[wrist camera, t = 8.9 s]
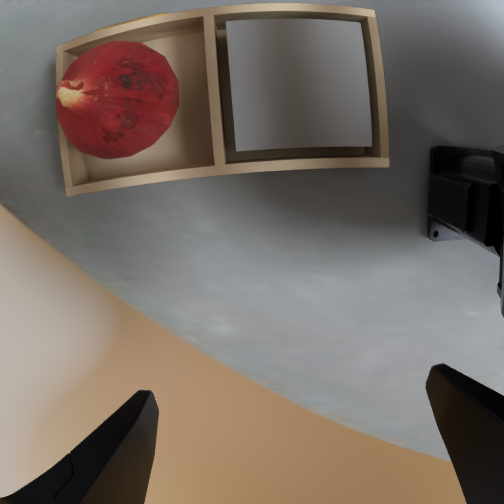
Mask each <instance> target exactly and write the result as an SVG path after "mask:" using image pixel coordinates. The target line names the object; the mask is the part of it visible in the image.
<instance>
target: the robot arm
mask: <svg viewBox="0 0 504 504" xmlns="http://www.w3.org/2000/svg"><path fill="white" fill-rule="evenodd" d="M437 150H438V151H439V155H438V156H437V154H436V152H437ZM428 214H429V217H428V230H427V236H428V238H429V239H431V240H432V241H444V240H455V239H469V240H471V241H472V242H474V243H476V244H478V245H480V246H481V247H483V248H485V249H486V250H488V251H490V252H492V253H493V254H495V255H497V256H498V257H500V275H499V283H498V286H497V293H498V294H499V296H500V298H501V312H502V315H503V317H504V145H502V146H498V147H495V148H491V151H488V150H480V149H471V148H461V147H450V146H437V145H436V146H433V147H432V148H431V151H430V177H429V199H428ZM434 231H436V234H435V235H434V236H433V233H434ZM426 391H427V395H428V398H429V401H430V404H431V407H432V411H433V414H434V417H435V421H436V424H437V426H438V429H439V431H440V434H441V436H442V439H443V441H444V444H445V446H446V448H447V451H448V454H449V456H450V459H451V461H452V464H453V466H454V469H455V472H456V474H457V477H458V480H459V483H460V486H461V488H462V491H463V494H464V497H465V500H466V503H467V504H504V396H503V395H501V394H499V393H498V392H496V391H494V390H492V389H490V388H488V387H486V386H485V385H483V384H481V383H479V382H477V381H475V380H473V379H472V378H470V377H468V376H466V375H464V374H462V373H460V372H459V371H457V370H455V369H453V368H451V367H449V366H447V365H446V364H443V363H441V364H437V365H434V366H432V368H431V370H430V373H429V376H428V379H427V381H426ZM158 417H159V410H158V406H157V403H156V400H155V397H154V394H153V393H152V391H150V390H139V391H137V392H136V393H135V394H134V395H133V396H132V397H131V398H130V399H129V400H127V401H126V402H125V403H124V404H123V405H122V406H121V407H120V408H119V409H117V410H116V411H115V412H114V413H113V414H112V415H111V416H110V417H109V418H107V419H106V420H105V421H104V422H103V423H102V424H101V425H100V426H99V427H97V429H95V430H94V431H93V432H92V433H91V434H90V435H89V436H87V437H86V438H85V439H84V440H83V441H82V442H81V443H80V444H78V445H77V446H76V447H75V448H74V449H73V450H72V451H71V452H70V454H69V453H68V454H67V455H66V456H65V457H63V458H62V459H61V460H60V461H59V462H58V463H56V464H55V465H54V466H53V467H52V468H50V469H49V470H47V471H46V472H45V473H43V474H42V475H40V476H39V477H38V478H36V479H35V480H33V481H32V482H30V483H29V484H27V485H26V486H24V487H23V488H21V489H20V490H18V491H16V492H15V493H13V494H11V495H9V496H6V497H3V498H0V504H144V502H145V497H146V493H147V488H148V483H149V478H150V474H151V469H152V464H153V460H154V455H155V445H156V435H157V426H158Z"/></svg>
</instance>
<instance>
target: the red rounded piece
mask: <svg viewBox="0 0 504 504" xmlns="http://www.w3.org/2000/svg"><path fill="white" fill-rule="evenodd" d="M55 96H56V110H57V119H58V121H59V123H60V126H61V128H62V130H63V132H64V134H65V136H66V138H67V139H68V140H69V141H70V142H71V143H72V144H73V145H74V146H75V147H76V148H78V149H79V150H80V151H81V152H83V153H85V154H88V155H91V156H95V157H98V158H102V159H117V158H124V157H131V156H133V155H135V154H137V153H139V152H141V151H143V150H145V149H147V148H149V147H150V146H152V145H153V144H155V143H156V141H157V140H158V139H159V138H160V137H161V136H162V135H163V134H164V133H165V132H166V131H167V130H168V129H169V127H170V125H171V123H172V121H173V118H174V116H175V114H176V111H177V109H178V107H179V81H178V79H177V77H176V75H175V74H174V72H173V70H172V68H171V66H170V65H169V63H168V61H167V59H166V57H165V56H163V55H162V54H160V53H158V52H157V51H155V50H153V49H152V48H150V47H148V46H146V45H144V44H142V43H140V42H131V41H110V42H107V43H104V44H101V45H99V46H96V47H93V48H91V49H89V50H87V51H86V52H85V53H83V54H82V55H81V56H80V57H78V58H77V59H76V60H74V61H73V62H72V63H71V64H70V66H69V68H68V69H67V71H66V73H65V74H64V76H63V78H62V79H61V81H60V82H59V84H58V86H57V88H56V94H55Z"/></svg>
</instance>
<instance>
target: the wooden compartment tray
mask: <svg viewBox="0 0 504 504" xmlns="http://www.w3.org/2000/svg"><path fill="white" fill-rule="evenodd" d="M110 41H131V42H140V43H142V44H144V45H146V46H148V47H150V48H152V49H153V50H155V51H157V52H158V53H160V54H162V55H163V56H165V57H166V59H167V61H168V63H169V65H170V66H171V68H172V70H173V72H174V74H175V75H176V77H177V79H178V81H179V107H178V109H177V111H176V114H175V116H174V118H173V121H172V123H171V125H170V127H169V129H168V130H167V131H166V132H165V133H164V134H163V135H162V136H161V137H160V138H159V139H158V140H157V141H156V143H155V144H153V145H152V146H150V147H149V148H147V149H145V150H143V151H141V152H139V153H137V154H135V155H133V156H131V157H124V158H117V159H102V158H98V157H95V156H91V155H88V154H85V153H83V152H81V151H80V150H79V149H78V148H76V147H75V146H74V145H73V144H72V143H71V142H70V141H69V140H68V139H67V138H66V136H65V134H64V132H63V130H62V128H61V126H60V123H59V121H58V131H59V142H60V151H61V160H62V168H63V175H64V182H65V188H66V195H67V197H69V196H75V195H80V194H86V193H91V192H97V191H103V190H109V189H115V188H122V187H128V186H135V185H142V184H149V183H156V182H164V181H172V180H180V179H189V178H198V177H207V176H217V175H228V174H239V173H252V172H265V171H280V170H298V169H320V168H356V167H389V135H388V116H387V102H386V90H385V80H384V70H383V62H382V54H381V47H380V40H379V33H378V27H377V21H376V15H375V10H371V9H364V8H357V7H348V6H338V5H325V4H305V3H261V4H241V5H229V6H218V7H209V8H201V9H194V10H188V11H181V12H175V13H170V14H165V13H162V14H157V15H152V16H147V17H143V18H139V19H135V20H131V21H127V22H123V23H119V24H116V25H112V26H109V27H106V28H102V29H99V30H96V31H95V33H91V34H88V35H85V36H83V37H80V38H77V39H74V40H71V41H69V42H66V43H63V44H61V45H58V46H56V88H57V86H58V84H59V82H60V81H61V79H62V78H63V76H64V74H65V73H66V71H67V69H68V68H69V66H70V64H71V63H72V62H73V61H74V60H76V59H77V58H78V57H80V56H81V55H82V54H83V53H85V52H86V51H87V50H89V49H91V48H93V47H96V46H99V45H101V44H104V43H107V42H110Z"/></svg>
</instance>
